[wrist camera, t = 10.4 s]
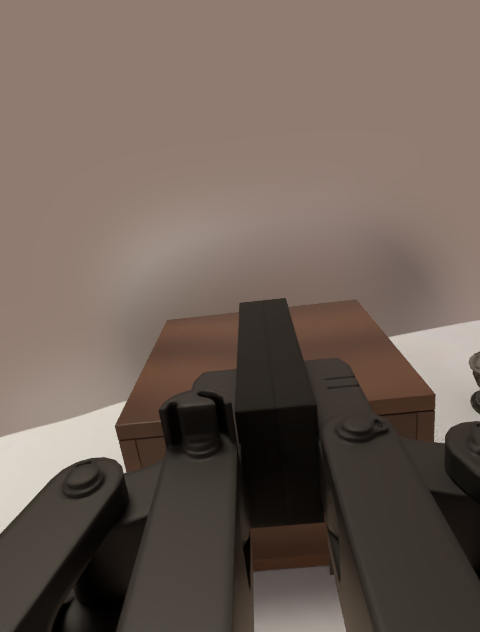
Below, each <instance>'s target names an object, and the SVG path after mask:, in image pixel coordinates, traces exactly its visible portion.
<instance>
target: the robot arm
mask: <svg viewBox="0 0 480 632" xmlns="http://www.w3.org/2000/svg"><path fill="white" fill-rule="evenodd" d="M159 415H160V420H161V425H162V430H163V435H164V440H165V444H166V452H165V455H164V459H162V460H160V461H158V462H156V463H155V464H152V465H149V466H147V467H144V468H141V469H138V470H134V471H131V472H128V473H125V474H124V473H123V469H122V466H121V465H120V464H119V463H118V462H117V461H116V460H113V459H109V458H105V457H102V458H90V459H86V460H82V461H79V462H77V463H75V464H73V465H71V466H69V467H67V468H65V469H63V470H62V471H61V472H59V473H58V474H57V475H56V476H55V477H53V478H52V479H51V480H50V481H49V482H48V483H47V485H46V486H45V487H44V488H43V489H42V490H41V491H40V492H39V493H38V494H37V495H36V496H35V497H34V499H33V500H32V501H31V502H30V503H29V504H28V505H27V506H26V507H25V508H24V509H23V510H22V511H21V513H20V514H19V515H18V516H17V517H16V518H15V519H14V520H13V521H12V522H11V523H10V524H9V525H8V526H7V528H6V529H5V530H4V531H3V532H2V533H1V534H0V632H254V605H253V554H252V544H251V537H250V528H263V527H275V526H288V525H300V524H312V523H325V521H324V513H325V518H326V522H327V536H328V552H329V567H330V575H335V580H336V585H337V589H338V594H339V599H340V604H341V608H342V613H343V618H344V623H345V627H346V632H480V421H474V422H465V423H460V424H458V425H456V426H453V427H451V428H450V429H449V431H448V432H447V434H446V435H445V444H444V443H436V442H427V441H419V440H413V439H408V438H405V437H402V436H399V435H398V433H397V431H396V429H395V428H394V426H393V425H392V424H391V423H390V422H389V421H388V420H387V419H385V418H383V417H381V416H379V415H377V414H375V413H374V411H373V409H372V408H371V406H370V404H369V402H368V400H367V398H366V396H365V394H364V392H363V390H362V388H361V386H360V384H359V382H358V380H357V378H355V374H354V373H353V371H352V369H351V367H350V365H348V364H347V363H345V362H344V361H342V360H341V359H339V358H338V357H336V358H326V359H316V360H306V361H304V359H303V356H302V353H301V349H300V346H299V342H298V339H297V336H296V332H295V329H294V325H293V322H292V318H291V315H290V312H289V308H288V305H287V302H286V298H281V299H272V300H263V301H253V302H244V303H240V305H239V326H238V347H237V369H230V370H220V371H210V372H203V373H202V374H201V375H200V376H199V377H198V378H197V379H196V380H195V381H194V382H193V386H192V390H187V391H184V392H181V393H179V394H176V395H174V396H172V397H171V398H169V399H168V400H166V401H165V402H164V403H163V404H162V406H161V407H160V408H159ZM249 520H250V521H249Z"/></svg>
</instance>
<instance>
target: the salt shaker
mask: <svg viewBox="0 0 480 632" xmlns="http://www.w3.org/2000/svg"><path fill="white" fill-rule="evenodd" d="M469 365H470V368H471V369H472V370H473V375H474V378H475V380H476V382H477V385H478V386H479V387H480V352H478V353H475V354H474V355H473V356H472V357H470V359H469ZM471 405H472V407H473V408H474V409H475V410H476V411H477V412H478V413H480V390H479V391H477V392H475V393H474V394H473V395H472V396H471Z"/></svg>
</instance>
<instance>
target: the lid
mask: <svg viewBox="0 0 480 632" xmlns="http://www.w3.org/2000/svg"><path fill="white" fill-rule="evenodd" d="M288 308H289V312H290V315H291V318H292V322H293V325H294V329H295V332H296V336H297V339H298V342H299V346H300V349H301V353H302V356H303V359H304V361H306V360H316V359H326V358H336V357H338V358H339V359H341V360H342V361H344V362H345V363H347V364H348V365H350V367H351V369H352V371H353V373H354V374H355V378H357V380H358V382H359V384H360V386H361V388H362V390H363V392H364V394H365V396H366V398H367V400H368V402H369V404H370V406H371V408H372V409H373V411H374V413H375V414H377V415H383V414H393V413H404V412H414V411H424V410H434V409H435V393H434V392H433V391H432V390H431V388H430V387H429V386H428V385H427V384H426V382H425V381H424V380H423V379H422V378H421V376H420V375H419V374H418V373H417V372H416V370H415V369H414V368H413V367H412V366H411V364H410V363H409V362H408V361H407V360H406V358H405V357H404V356H403V355H402V354H401V353H400V351H399V350H398V349H397V348H396V347H395V345H394V344H393V343H392V342H391V341H390V339H389V338H388V337H387V336H386V335H385V333H384V332H383V331H382V330H381V329H380V327H379V326H378V325H377V324H376V323H375V321H374V320H373V319H372V318H371V317H370V315H369V314H368V313H367V312H366V311H365V310H364V308H363V307H362V306H361V305H360V303H359V302H358V301H357V300H348V301H339V302H331V303H320V304H311V305H302V306H294V307H288ZM238 326H239V312H238V313H230V314H221V315H210V316H201V317H192V318H183V319H174V320H167V322H166V324H165V326H164V328H163V330H162V332H161V334H160V336H159V338H158V340H157V342H156V344H155V346H154V348H153V350H152V352H151V354H150V356H149V358H148V360H147V362H146V364H145V366H144V368H143V370H142V372H141V374H140V377H139V378H138V380H137V382H136V384H135V386H134V389H133V390H132V392H131V394H130V397H129V399H128V400H127V402H126V404H125V406H124V408H123V411H122V413H121V415H120V417H119V419H118V421H117V423H116V425H115V428H116V432H117V436H118V440H124V439H134V438H145V437H155V436H164V435H163V430H162V425H161V420H160V415H159V408H160V407H161V406H162V404H163V403H164V402H165V401H166V400H168V399H169V398H171V397H172V396H174V395H176V394H179V393H181V392H184V391H187V390H192V386H193V382H194V381H195V380H196V379H197V378H198V377H199V376H200V375H201V374H202V373H203V372H210V371H220V370H230V369H237V347H238Z"/></svg>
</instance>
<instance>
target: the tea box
mask: <svg viewBox="0 0 480 632" xmlns="http://www.w3.org/2000/svg"><path fill="white" fill-rule="evenodd" d="M379 416H381V417H383V418H385V419H387V420H388V421H389V422H390V423H391V424H392V425H393V426H394V428H395V429H396V431H397V433H398V435H399V436H402V437H405V438H408V439H413V440H419V441H427V442H434V422H435V410H424V411H414V412H404V413H393V414H383V415H379ZM119 444H120V448H121V452H122V456H123V460H124V464H125V468H126V472H127V473H128V472H131V471H134V470H138V469H141V468H144V467H147V466H149V465H152V464H155V463H156V462H158V461H160V460H162V459H164V455H165V452H166V444H165V440H164V436H155V437H145V438H134V439H124V440H119ZM249 521H250V520H249ZM324 521H325V523H312V524H300V525H288V526H275V527H263V528H250V537H251V544H252V554H253V571H262V570H275V569H287V568H299V567H312V566H324V565H329V552H328V536H327V522H326V518H325V513H324Z"/></svg>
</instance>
